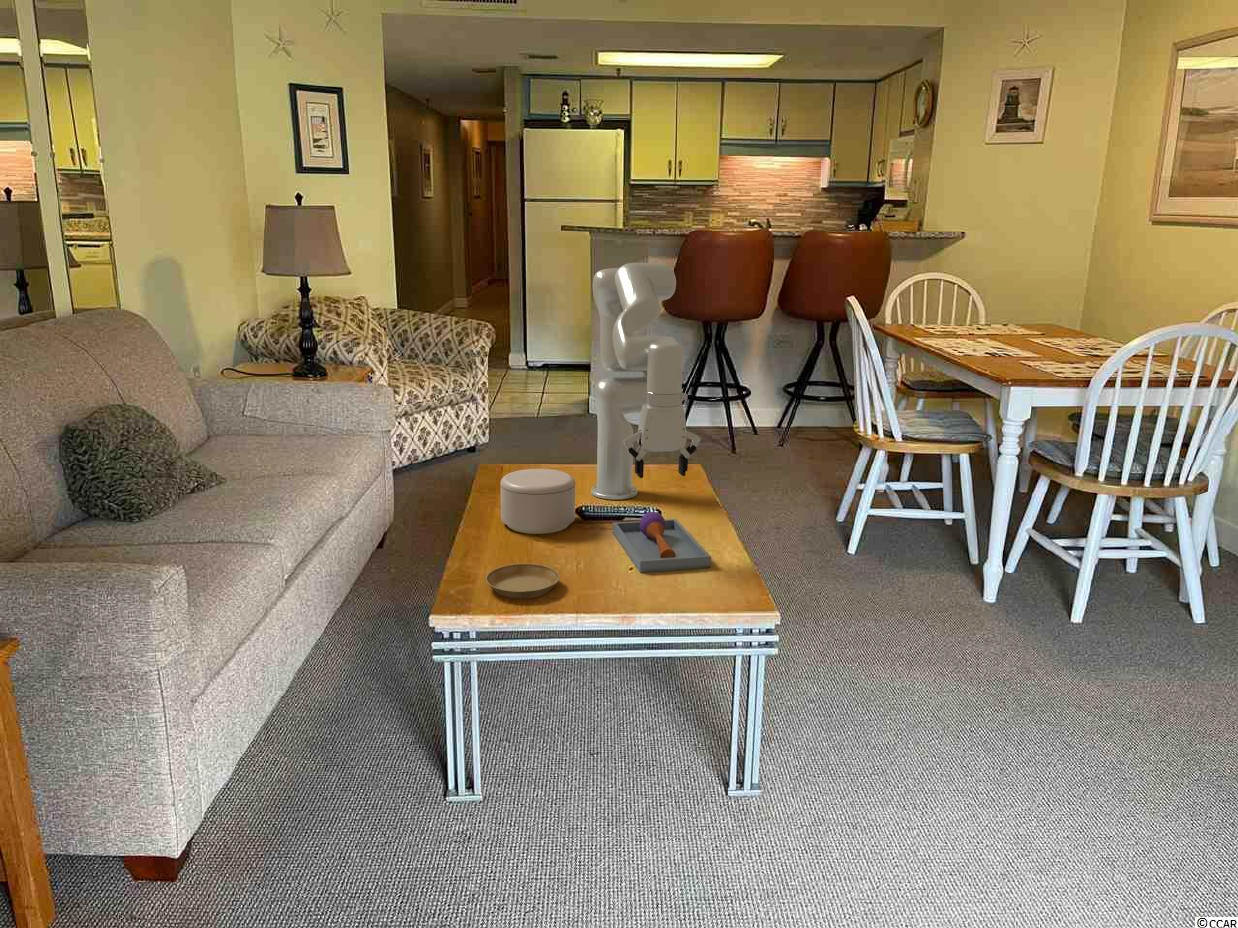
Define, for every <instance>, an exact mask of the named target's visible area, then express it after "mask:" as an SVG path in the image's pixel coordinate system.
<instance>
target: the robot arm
mask: <svg viewBox="0 0 1238 928" xmlns="http://www.w3.org/2000/svg"><path fill="white" fill-rule="evenodd" d="M592 279H593V280H592V293H593V294H592V295H593V299H594V303H595V305H596V308H597V311H598V315H599V322H600V323H599V325H600V326H599V330H600V331H599V338H600V339H599V340H600V341H599V342H600V344H599V345H600V346H599V349H600V351H599V354H600V363H601V364H600V365H601V366H602V368H603V370H605V371H607V372H610V373H611V372H612V373H631V372H633V373H634V372H635V373H639V372H640V373H642V374H641V375H642V376H612V377H605V378H603V379H600V380H599V381H598V382H597V383H596V384H595V387H594V399H595V400H594V401H595V406H596V416H597V417H596V418H597V419H596V421H597V443H596V445H597V449H596V450H597V453H596V456H597V457H596V462H597V464H596V465H597V466H596V485H593V486H592V487H591V488H590V493H591V495H592V496H594V497H595V498H600V499H604V500H616V501H617V500H626V499H631V498H635V497H636V496H638V493H639V489H638V488H637V487H636V486H635V485H633V473H635V474H636V475H637V477H638V478H639V479H643V478H644V470H645V468H644V467H645V462H644V460H643V458H644V457H645V456H646V455H647V453H658V452H659V453H661V452H678V451H679V453H680V454H679V456H678V468H677V469H678V472H677V473H679V474H680V475H681V476H682V477H686V472H688V470H689V458H691V456H692V454H694V453H695V452H696V450H697V447H698V446H699V444H700V442H701V440H702V439H701V438H700V436H698V435H696V434H694V433H692V432H690V431H689V430H687V423H686V421H687V420H686V413H685V407H684V405H683V402H684V400H686V401H687V400H688V397H689V396H688V394H687V393H685V392H683V391H682V390H683V389H682V388H683V386H682V385H683V367H684V366H683V365H684V349H683V348H684V347H683V346H682V345H681V344H680V343H679V342H678V340H677V339H676V338H675V337H673V336H667V335H666V336H665V335H664V336H663V335H661V336H659V335H649V334H646V335H645V334H639V335H638V334H637V335H636V334H634V333H635V332H637V331H640V330H641V329H644V328H646V327H648V326H651V325H652V324H653V323H654V322H655V321H656V320H657V319H658V318H659V317H660V313H661V304H660V302H662V301H667V300H669V299H671V298H672V297H673V295H674V294H675V292H676V289H677V278H676V275H675V271H674V269H673V268H672V266H670V265H669V264H667V263H664V262H627V263H625V264H623V265H621V266H620V267H613V268H612V267H611V268H604V269H600V270H597V272H596V273H595V274H594V276H593V278H592ZM626 414H640V416H639V421H638V431H636V432H635V433H634V429H633V426H632V424H631V423H630V421H629V420H628V419H626V417H625V415H626ZM687 439H689V440H691V443H690V444H689V445H688V446H686V445H687ZM635 442H637V445H638V447H637V448H636V449H634V443H635ZM633 461H634V462H633ZM633 463H634V464H633ZM633 465H634V467H633ZM633 468H634V472H633Z"/></svg>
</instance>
